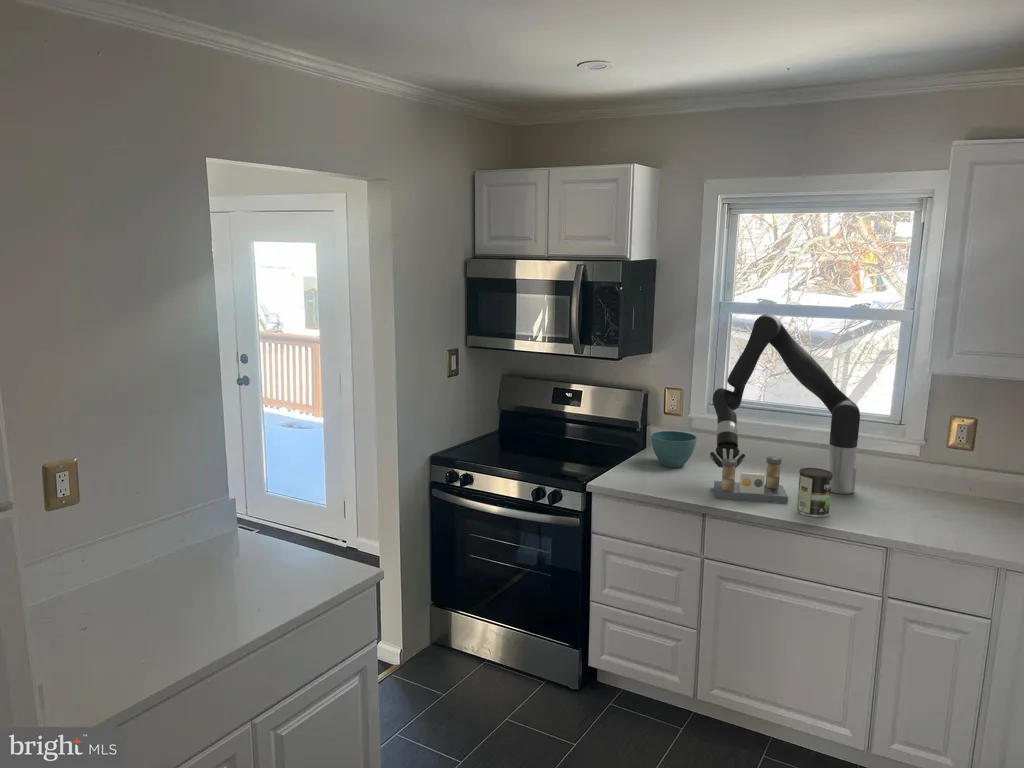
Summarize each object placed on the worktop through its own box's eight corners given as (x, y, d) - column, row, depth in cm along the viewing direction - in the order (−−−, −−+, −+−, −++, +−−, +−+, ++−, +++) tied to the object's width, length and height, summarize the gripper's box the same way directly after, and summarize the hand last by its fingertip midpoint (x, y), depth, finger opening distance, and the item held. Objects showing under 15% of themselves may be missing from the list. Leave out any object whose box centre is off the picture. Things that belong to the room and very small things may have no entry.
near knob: (778, 485, 268) (780, 456, 266) (780, 489, 263) (782, 460, 261) (763, 483, 269) (765, 455, 268) (765, 488, 264) (767, 459, 262)
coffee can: (832, 511, 249) (836, 471, 247) (824, 519, 241) (828, 478, 239) (801, 504, 255) (804, 465, 253) (792, 512, 247) (795, 472, 245)
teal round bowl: (641, 461, 307) (642, 433, 305) (676, 456, 315) (678, 428, 312) (667, 473, 291) (669, 443, 289) (704, 468, 298) (706, 438, 296)
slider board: (781, 492, 269) (783, 466, 267) (787, 503, 256) (789, 477, 255) (714, 487, 274) (715, 462, 272) (716, 498, 261) (717, 472, 260)
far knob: (734, 487, 265) (736, 458, 263) (735, 491, 260) (737, 462, 258) (719, 486, 266) (721, 457, 264) (720, 490, 261) (722, 461, 259)
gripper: (709, 429, 273) (709, 470, 263) (746, 431, 270) (748, 473, 261) (708, 439, 279) (707, 480, 269) (744, 442, 276) (745, 483, 267)
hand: (727, 477), depth 265 cm, fingers closed
